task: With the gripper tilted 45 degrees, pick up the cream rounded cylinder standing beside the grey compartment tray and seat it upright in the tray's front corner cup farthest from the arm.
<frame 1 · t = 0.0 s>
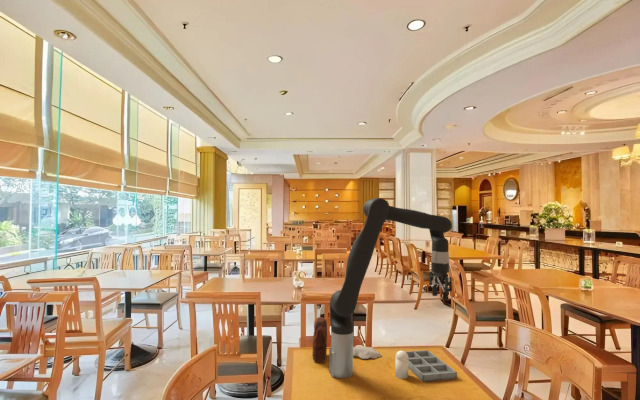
hand: (440, 298, 149), 29 cm above the table, tool pointing down, fingers open, 8 cm apart
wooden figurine: (319, 358, 153), on the table
cream rounded cylinder: (401, 375, 137), on the table
grey compartment tray: (425, 367, 145), on the table
decorative stone: (365, 356, 157), on the table
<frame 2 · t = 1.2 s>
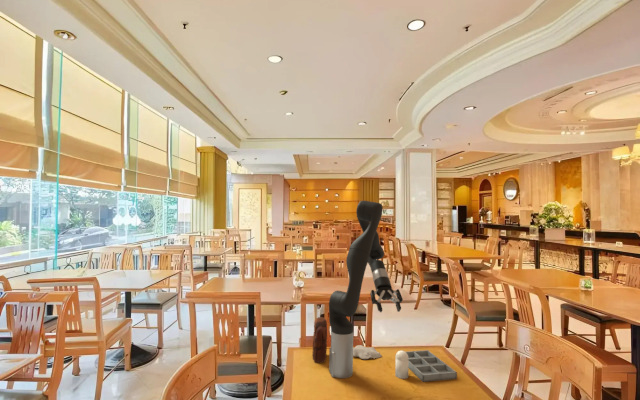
hand: (390, 311, 150), 23 cm above the table, tool tilted 45°, fingers open, 8 cm apart
nothing on the table moved.
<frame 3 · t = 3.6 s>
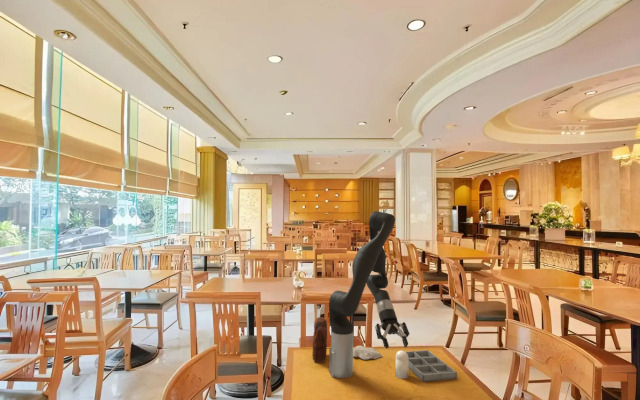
hand: (396, 347, 143), 10 cm above the table, tool tilted 45°, fingers open, 8 cm apart
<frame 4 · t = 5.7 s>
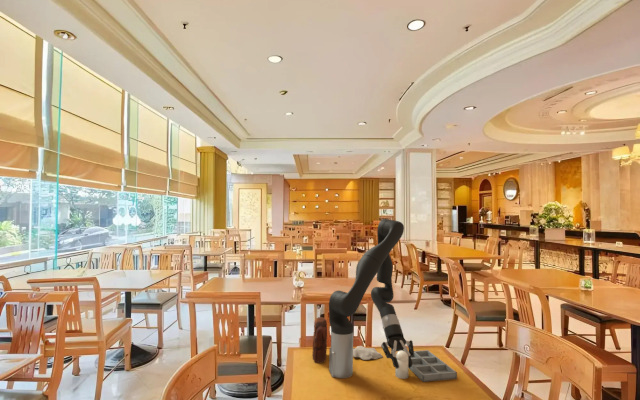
hand: (403, 367, 136), 4 cm above the table, tool tilted 45°, fingers closed on cream rounded cylinder, 5 cm apart
cream rounded cylinder: (401, 375, 137), on the table, touching gripper
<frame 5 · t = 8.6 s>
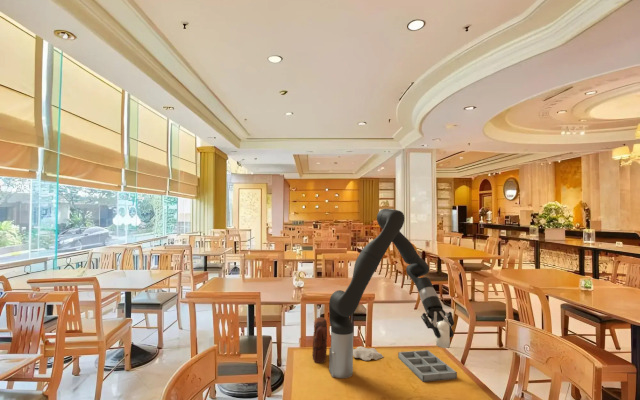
hand: (445, 336, 137), 16 cm above the table, tool tilted 45°, fingers closed on cream rounded cylinder, 5 cm apart
cream rounded cylinder: (442, 345, 139), point 12 cm above the table, touching gripper
when the fingers open (7 cm above the table, at t = 11.3 s): cream rounded cylinder drops 2 cm, resting on grey compartment tray.
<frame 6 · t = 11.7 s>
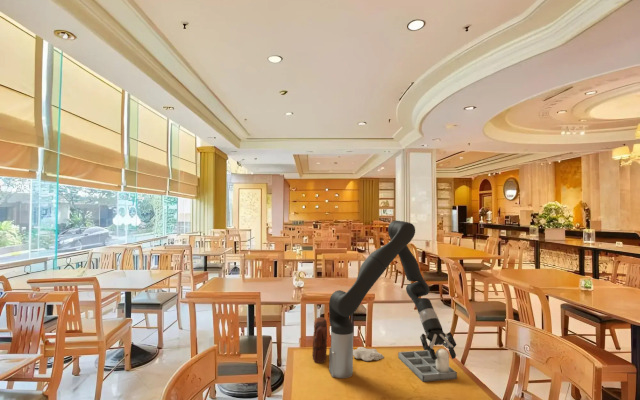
hand: (444, 358, 137), 7 cm above the table, tool tilted 45°, fingers open, 8 cm apart
cream rounded cylinder: (442, 373, 138), point 1 cm above the table, touching grey compartment tray
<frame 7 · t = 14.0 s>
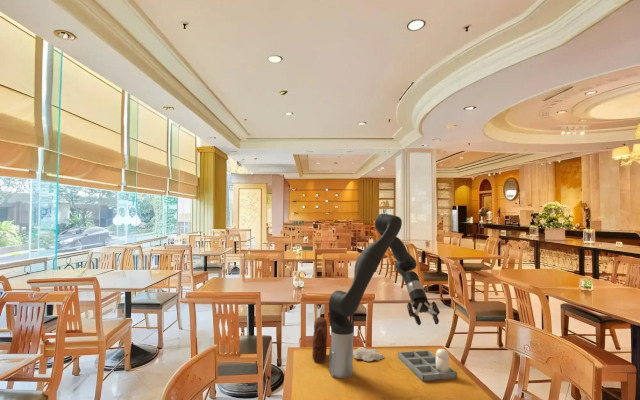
hand: (428, 324, 150), 17 cm above the table, tool tilted 45°, fingers open, 8 cm apart
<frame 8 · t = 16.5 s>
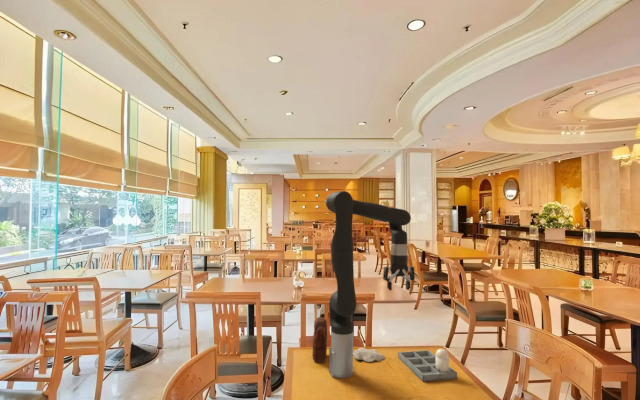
hand: (398, 289, 151), 32 cm above the table, tool pointing down, fingers open, 8 cm apart
at the end: cream rounded cylinder 0.3 cm from the target spot on the grey compartment tray, point 0.6 cm above the grey compartment tray's base; cream rounded cylinder tilted 1°; the gripper is holding nothing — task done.
